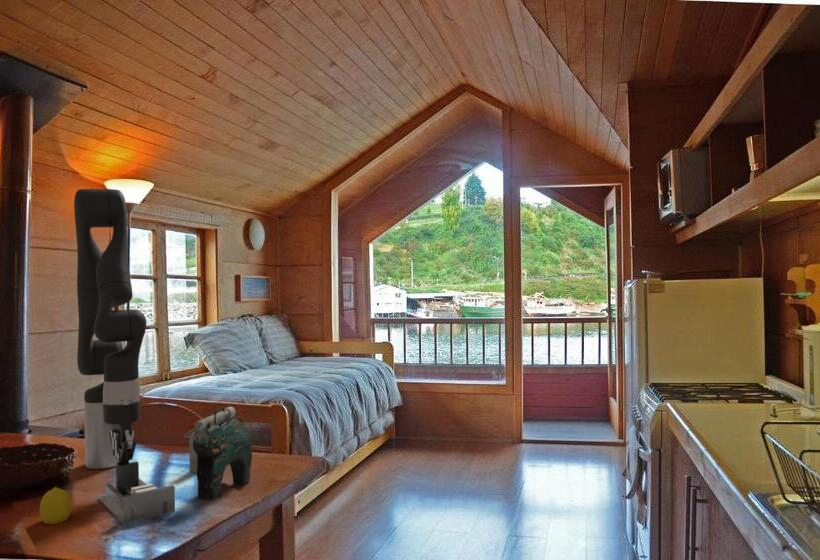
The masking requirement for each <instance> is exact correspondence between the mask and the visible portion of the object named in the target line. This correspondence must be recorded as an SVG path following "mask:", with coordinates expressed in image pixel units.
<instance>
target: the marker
mask: <svg viewBox="0 0 820 560" xmlns="http://www.w3.org/2000/svg"><path fill="white" fill-rule="evenodd" d="M146 484H147V483H146ZM157 488H158V487H156V485H155V484H152V483H148V484H147V485H142V486H138V487H133V488H131V494H134V493H138V492H143V491H148V490H152V489H157Z"/></svg>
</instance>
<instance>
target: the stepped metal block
mask: <svg viewBox="0 0 820 560" xmlns="http://www.w3.org/2000/svg"><path fill="white" fill-rule="evenodd" d="M139 466H140V465H139V461H133V462H129V463H125V464H120V465H116V466H115V489H117V490H118V491H119V492H120V493H121V494H122V495H123V496H124V495H129V494H131V488H133V487H138V486H139V479H140V471H139V470H140V469H139Z"/></svg>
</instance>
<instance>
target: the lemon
mask: <svg viewBox="0 0 820 560" xmlns="http://www.w3.org/2000/svg"><path fill="white" fill-rule="evenodd" d="M39 504H40V505H39V516H40V519H41V521H42V522H43V523H44V524H45V525H56V524H60V523H64V522H65V521H67V520H68V518H69V517H70V515H71V512H72V506H73V505H72V504H73V503H72V499H71V497H70V494H69V493H68V492H67V491H66V490H65V489H62V488H58V487H56V486H55V487H53V488H52V489H50V490H48V491H47V492H45V494H44V495H43V496H42V498H41V500H40V503H39Z"/></svg>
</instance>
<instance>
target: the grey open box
mask: <svg viewBox="0 0 820 560" xmlns="http://www.w3.org/2000/svg"><path fill="white" fill-rule="evenodd" d="M142 485H147V483H146V482H144V481H143V480H142V479H141V478H139V486H142ZM175 487H176V486H174V485H173V484H171V485H167V486H163V487H157V489H152V490H148V491H143V492H138V493H134V494H129V495H124V496H123V495H122V494H121V493H120V492H119V491H118V490H117V489H116V487H114V485H112V484H111V483H109V482H108V483H105V484H104V495H103V496H97V498H98V499H99V501H101V503H102V504H103V505H104V506H105V507H106V508H107V509H108V510H109V511H110V512H111V513H112V514H113V515H114V516H115V518H116V519H118V521H120V522H121V524H122V525H124V524H127V523H128V524H129V523H132V522H136V521H140V520H143V519H149V518H154V517H156V516H161V515H165V514H169V513H173V512H174V513H175V512H176V503H175V502H176V497H175V496H176V494H175V493H176V492H175V490H176V488H175Z"/></svg>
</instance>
